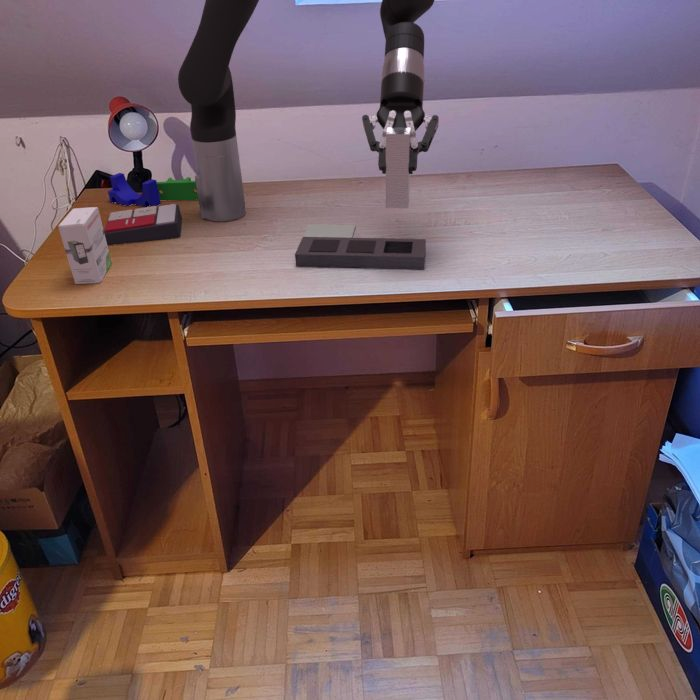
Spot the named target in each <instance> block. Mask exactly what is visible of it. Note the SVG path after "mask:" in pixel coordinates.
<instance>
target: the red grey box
mask: <svg viewBox="0 0 700 700" xmlns="http://www.w3.org/2000/svg"><path fill="white" fill-rule="evenodd" d="M182 222H183V217H182V213H181V209H180V206H179V204H176V203H171V204H166V205H165V204H164V205H159V206H151V207H140V208H138V207H137V208H135V209H134V210H133V209H126V210H119V211H114V212H113V211H112V212H110V213H109V215H108V218H107V221H106V224H105V227H104V229H103V230H104V234H105V238H106V242H107V246H114V245H113V244H117V245H124V243H126V244H134V243H135V244H136V243H142V242H143V243H144V242H149V241H155V240H159V241H162V240H163V241H165V240H171V239H172V238H173V239H179V238H181V237H182V235H181V234H182V224H183V223H182Z"/></svg>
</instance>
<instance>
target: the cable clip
mask: <svg viewBox="0 0 700 700" xmlns="http://www.w3.org/2000/svg"><path fill="white" fill-rule="evenodd" d="M109 178H110V184H111V188H112V189H110V190H108V191H107V194H108V197H109V198H108V199H109V202H110V203H111V202H113V203H112V204H114V202H116V203H117V204H116V205H118V204H121V205H120V206H123V205H126V206H125V207H127V206H129V205H131V204H136V205H135V206H137V205H141V206H145V207H147V206H149V205H150V206H149V207H151V206H157V205H159V204H161V205H162V201H160V196H159V192H160V190H159V191H158V186H157V182H158V181H157V180H156V179H152V178H151V179H149V180H146V181H144V182H142V183H141V186H142V191H141V194H139V193H137V192H136V191H135V190H134V189H133V188H132V187H131V186H130V184H129V183H128V181H127V179H126V176H125V173H123V172H118V173H115V174H113V175H110V176H109ZM141 206H140V207H141ZM159 206H160V205H159ZM129 207H130V206H129ZM145 207H144V208H145ZM157 207H158V206H157Z"/></svg>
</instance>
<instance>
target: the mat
mask: <svg viewBox="0 0 700 700" xmlns="http://www.w3.org/2000/svg"><path fill="white" fill-rule="evenodd" d="M355 231H356V225H355V224H308V225H307V227H306V229H305V231H304V233H303V236H302V238H303V237H344V238H354V237H353V236H354V233H355Z"/></svg>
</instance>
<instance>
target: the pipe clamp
mask: <svg viewBox="0 0 700 700" xmlns="http://www.w3.org/2000/svg"><path fill="white" fill-rule="evenodd" d="M156 182H157V186H158V191H159V196H160V200H187V201H199V199H198V194H197V188H196V182H195V180H192V179H191V177H190V176H189V177H186V178H184V179H179V180H178V179H176V180H175V179H173V178H172V177H169V178H167V180H166V181H156ZM194 190H195V191H194ZM196 199H197V200H196Z"/></svg>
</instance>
